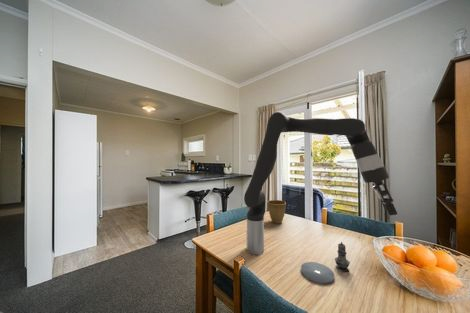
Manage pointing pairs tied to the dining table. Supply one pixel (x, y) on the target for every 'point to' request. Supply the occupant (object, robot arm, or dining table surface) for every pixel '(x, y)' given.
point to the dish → (317, 273)
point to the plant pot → (276, 210)
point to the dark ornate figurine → (342, 259)
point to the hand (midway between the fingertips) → (390, 212)
